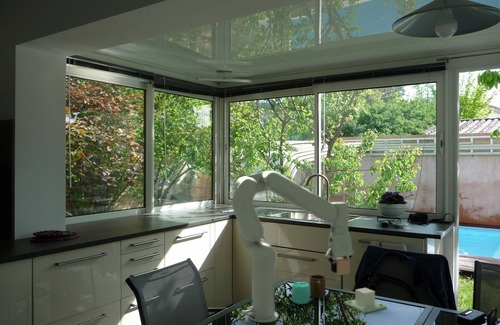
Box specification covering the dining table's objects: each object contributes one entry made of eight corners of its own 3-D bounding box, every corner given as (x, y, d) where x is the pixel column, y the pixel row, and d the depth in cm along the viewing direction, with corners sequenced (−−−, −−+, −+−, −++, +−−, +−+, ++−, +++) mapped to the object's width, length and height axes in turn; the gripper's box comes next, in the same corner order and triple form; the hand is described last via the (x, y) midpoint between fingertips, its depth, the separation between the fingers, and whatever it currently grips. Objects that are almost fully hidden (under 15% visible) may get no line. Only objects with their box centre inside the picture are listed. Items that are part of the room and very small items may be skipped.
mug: (328, 302, 187) (328, 282, 186) (311, 302, 187) (311, 281, 187) (324, 293, 199) (324, 274, 198) (308, 293, 199) (308, 274, 199)
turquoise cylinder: (309, 304, 184) (309, 287, 184) (292, 303, 185) (292, 286, 185) (309, 298, 192) (309, 281, 192) (292, 298, 193) (292, 281, 193)
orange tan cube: (338, 275, 172) (338, 261, 172) (330, 271, 177) (330, 258, 177) (349, 273, 174) (349, 259, 174) (340, 270, 180) (340, 256, 180)
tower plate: (364, 313, 172) (364, 297, 172) (344, 303, 184) (344, 288, 184) (386, 308, 178) (386, 292, 178) (365, 299, 190) (365, 284, 190)
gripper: (329, 233, 169) (329, 275, 169) (360, 229, 176) (360, 270, 176) (318, 230, 175) (318, 271, 175) (349, 227, 183) (349, 266, 183)
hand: (339, 270), depth 176 cm, fingers closed on orange tan cube, 6 cm apart
